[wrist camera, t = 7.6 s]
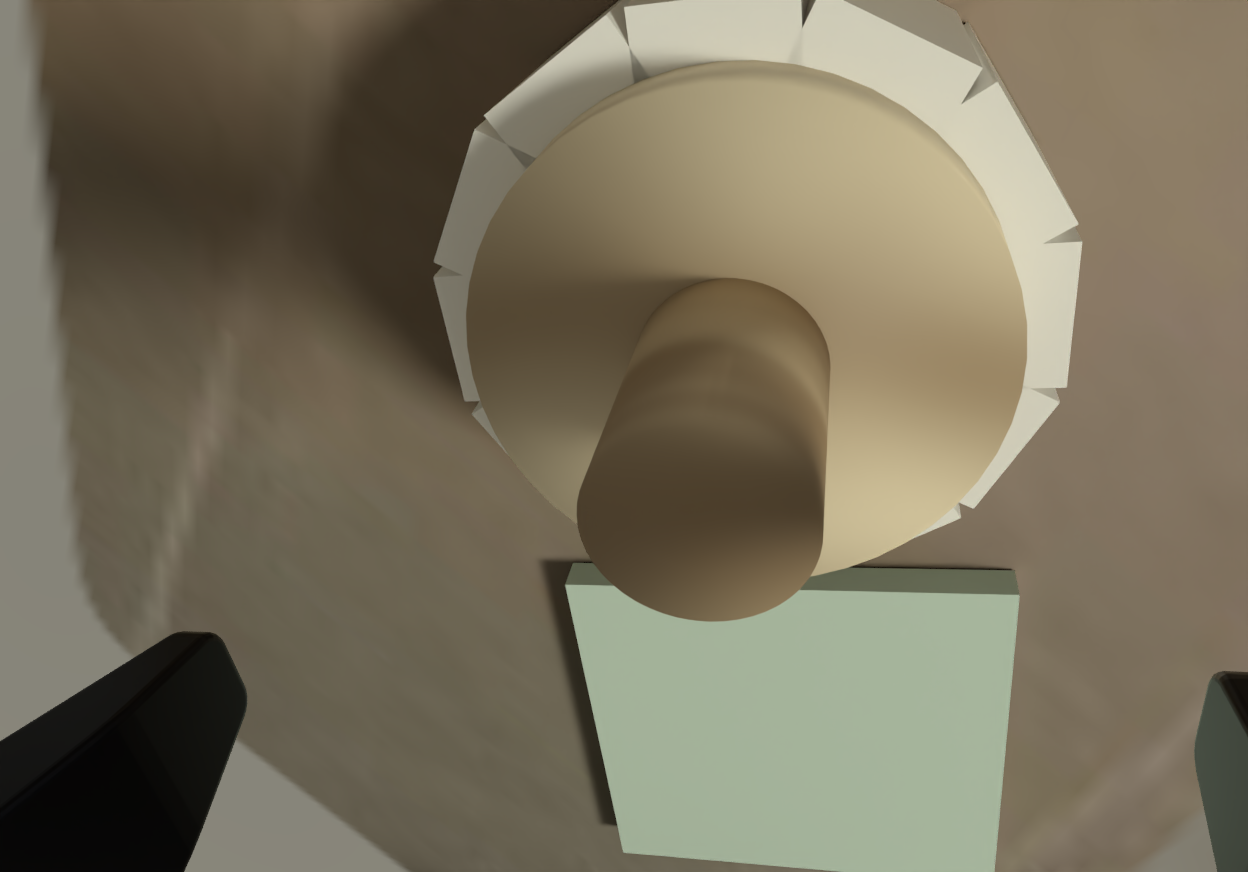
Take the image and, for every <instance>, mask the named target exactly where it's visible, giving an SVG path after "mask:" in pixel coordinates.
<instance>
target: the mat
mask: <svg viewBox="0 0 1248 872" xmlns="http://www.w3.org/2000/svg"><path fill="white" fill-rule="evenodd" d="M565 587H566V591H567V596H568V600H569V605H570V610H571V614H572V619H573V623H574V628H575V633H576V637H577V642H578V646H579V651H580V656H581V660H582V665H583V669H584V674H585V678H586V683H587V688H588V692H589V697H590V701H591V706H592V711H593V715H594V720H595V724H596V729H597V734H598V738H599V743H600V747H601V752H602V757H603V761H604V766H605V770H606V775H607V779H608V784H609V789H610V793H611V798H612V802H613V807H614V812H615V816H616V821H617V825H618V830H619V835H620V839H621V844H622V848H623V853H634V854H646V855H657V856H669V857H680V858H692V859H703V860H714V861H726V862H737V863H749V864H760V865H771V866H783V867H794V868H806V869H817V870H829V871H840V872H994V870H995V859H996V848H997V837H998V826H999V815H1000V804H1001V793H1002V782H1003V771H1004V760H1005V749H1006V738H1007V727H1008V717H1009V706H1010V695H1011V684H1012V673H1013V662H1014V651H1015V640H1016V629H1017V618H1018V607H1019V596H1020V595H1019V590H1018V585H1017V580H1016V575H1015V570H958V569H900V568H845V569H841V570H837V571H833V572H829V573H824V574H820V575H816V576H810V578H809V579H808V580H807V581H806V583H805V584H804V585H803V586H802V587H801V589H800V590H798V591H797V592H796V593H795V594H794V595H793V596H792V597H791V598H789V599H788V600H786V601H785V602H783V603H782V604H780V605H778V606H776V607H774V608H772V609H770V610H768V611H766V612H764V613H761V614H758V615H755V616H752V617H748V618H743V619H739V620H731V621H718V622H706V621H694V620H688V619H682V618H677V617H674V616H670V615H667V614H663V613H661V612H658V611H655V610H653V609H650V608H648V607H646V606H644V605H642V604H640V603H638V602H636V601H635V600H633V599H632V598H630V597H628V596H627V595H625V594H624V593H622V592H621V591H620V590H619V589H617V588H616V587H615V586H614V585H612V584H611V583H610V582H609V581H608V580H607V579H606V578H605V577H604V576H603V575H602V573H601V572H600V571H599V570H598V568H597V567H596V566H595V565H594V563H573V564H572V567H571V570H570V572H569V575H568V578H567V581H566V583H565Z"/></svg>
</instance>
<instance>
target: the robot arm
mask: <svg viewBox="0 0 1248 872" xmlns="http://www.w3.org/2000/svg"><path fill="white" fill-rule="evenodd" d="M246 707H247V692H246V688H245V685H244V683H243V681H242V679H241V677H240V675H239V673H238V671H237V669H236V666H235V664H234V662H233V660H232V658H231V656H230V654H229V652H228V650H227V648H226V645H225V643H224V642H223V640H222V639H221V638H220V637H219V636H218V635H216V634H214V633H211V632H188V631H183V632H177V633H174V634H172V635H170V636H168V637H167V638H165V639H163V640H162V641H160V642H159V643H157V644H155V645H154V646H152V647H151V648H149V649H147V650H146V651H144V652H143V653H141V654H139V655H138V656H136V657H134V658H133V659H131V660H130V661H128V662H126V663H125V664H123V665H122V666H120V667H119V668H117V669H115V670H114V671H112V672H110V673H109V674H107V675H106V676H104V677H103V678H101V679H99V680H98V681H96V682H94V683H93V684H91V685H90V686H88V687H86V688H85V689H83V690H82V691H80V692H78V693H77V694H75V695H74V696H72V697H70V698H69V699H68V700H66V701H64V702H62V703H61V704H59V705H58V706H56V707H54V708H53V709H51V710H50V711H48V712H47V713H45V714H43V715H42V716H40V717H38V718H37V719H35V720H33V721H32V722H30V723H29V724H27V725H26V726H24V727H22V728H21V729H19V730H17V731H16V732H14V733H13V734H11V735H10V736H8V737H6V738H5V739H3V740H1V741H0V872H184V871H185V868H186V866H187V864H188V862H189V860H190V858H191V855H192V853H193V850H194V848H195V845H196V843H197V841H198V838H199V836H200V833H201V831H202V828H203V825H204V822H205V820H206V817H207V815H208V812H209V809H210V807H211V804H212V801H213V799H214V796H215V793H216V791H217V788H218V785H219V783H220V780H221V777H222V774H223V772H224V769H225V767H226V764H227V761H228V759H229V756H230V753H231V751H232V748H233V745H234V743H235V740H236V737H237V735H238V732H239V729H240V727H241V724H242V721H243V719H244V716H245V712H246ZM1194 753H1195V766H1196V772H1197V777H1198V782H1199V787H1200V791H1201V796H1202V801H1203V806H1204V810H1205V815H1206V820H1207V825H1208V829H1209V834H1210V839H1211V843H1212V848H1213V853H1214V857H1215V862H1216V866H1217V872H1248V672H1231V671H1222V672H1218V673H1216V674H1214V675H1213V677H1212V678H1211V680H1210V682H1209V685H1208V688H1207V692H1206V697H1205V701H1204V705H1203V709H1202V714H1201V718H1200V722H1199V726H1198V730H1197V735H1196V739H1195V749H1194Z"/></svg>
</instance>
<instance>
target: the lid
mask: <svg viewBox="0 0 1248 872" xmlns="http://www.w3.org/2000/svg"><path fill="white" fill-rule="evenodd" d="M466 329H467V348H468V354H469V359H470V365H471V370H472V376H473V379H474V382H475V386H476V389H477V392H478V395H479V398H480V401H481V404H482V407H483V409H484V411H485V413H486V415H487V418H488V420H489V422H490V424H491V426H492V428H493V430H494V433H495V434H496V436H497V437H498V439H499V441H500V442H501V444H502V445H503V447H504V449H505V450H506V452H507V453H508V455H509V457H510V458H511V460H512V461H513V462H514V463H515V465H516V466H517V467H518V468H519V470H520V471H521V472H522V473H523V475H524V476H525V477H526V478H527V480H528V481H529V482H530V483H531V484H532V485H533V486H534V487H535V488H536V489H537V490H538V491H539V492H540V493H541V494H542V495H543V496H544V497H545V498H546V499H547V500H548V501H549V502H550V503H551V504H552V505H553V506H554V507H556V508H557V509H558V510H559V511H561V512H562V513H563V514H564V515H566V516H567V517H568V518H569V519H571V520H572V521H573V522H574V523H576V524H577V525H578V529H579V533H580V537H581V540H582V542H583V545H584V547H585V549H586V552H587V553H588V555H589V557H590V558H591V560H592V562H593V563H594V565H595V566H596V567H597V568H598V570H599V571H600V572H601V573H602V575H603V576H604V577H605V578H606V579H607V580H608V581H609V582H610V583H611V584H612V585H614V586H615V587H616V588H617V589H619V590H620V591H621V592H622V593H624V594H625V595H627V596H628V597H630V598H632V599H633V600H635V601H636V602H638V603H640V604H642V605H644V606H646V607H648V608H650V609H653V610H655V611H658V612H661V613H663V614H667V615H670V616H674V617H677V618H682V619H688V620H694V621H706V622H718V621H731V620H739V619H743V618H748V617H752V616H755V615H758V614H761V613H764V612H766V611H768V610H770V609H772V608H774V607H776V606H778V605H780V604H782V603H783V602H785V601H786V600H788V599H789V598H791V597H792V596H793V595H794V594H795V593H796V592H797V591H798V590H800V589H801V587H802V586H803V585H804V584H805V583H806V581H807V580H808V579H809V578H810V576H816V575H820V574H824V573H829V572H833V571H837V570H841V569H845V568H848V567H851V566H854V565H856V564H859V563H862V562H865V561H868V560H870V559H873V558H876V557H878V556H880V555H882V554H884V553H886V552H888V551H890V550H892V549H894V548H896V547H898V546H900V545H902V544H904V543H906V542H907V541H909V540H910V539H912V538H914V537H915V536H917V535H918V534H920V533H921V532H923V531H924V530H926V529H927V528H929V527H930V526H932V525H933V524H934V523H935V522H937V521H938V520H939V519H940V518H941V517H943V516H944V515H945V514H946V513H947V512H948V511H950V510H951V509H952V508H953V507H954V506H956V505H957V504H958V503H959V501H960V500H961V499H962V498H963V497H964V496H965V495H966V494H967V493H968V492H969V490H970V489H971V488H972V487H973V486H974V485H975V484H976V483H977V482H978V481H979V479H980V478H981V476H982V475H983V473H984V472H985V470H986V469H987V467H988V466H989V465H990V463H991V462H992V460H993V459H994V457H995V456H996V454H997V453H998V451H999V449H1000V447H1001V444H1002V442H1003V440H1004V438H1005V436H1006V434H1007V432H1008V430H1009V428H1010V426H1011V424H1012V421H1013V418H1014V415H1015V412H1016V409H1017V406H1018V403H1019V399H1020V396H1021V393H1022V388H1023V381H1024V375H1025V369H1026V363H1027V320H1026V313H1025V307H1024V301H1023V294H1022V288H1021V285H1020V282H1019V279H1018V276H1017V273H1016V270H1015V267H1014V264H1013V261H1012V257H1011V254H1010V251H1009V248H1008V245H1007V242H1006V239H1005V236H1004V233H1003V230H1002V228H1001V225H1000V222H999V219H998V217H997V215H996V213H995V211H994V209H993V207H992V205H991V203H990V201H989V199H988V197H987V195H986V193H985V191H984V189H983V188H982V186H981V185H980V183H979V182H978V181H977V179H976V178H975V176H974V175H973V174H972V172H971V171H970V169H969V168H968V167H967V165H966V164H965V162H964V161H963V159H962V158H961V157H960V156H959V155H958V154H957V153H956V152H955V151H954V150H953V149H952V148H951V147H950V146H949V145H948V144H947V143H946V142H945V140H944V139H943V138H942V137H941V136H940V135H939V134H938V133H937V132H936V131H935V130H933V129H932V128H931V127H930V126H928V125H927V124H926V123H924V122H923V121H922V120H920V119H919V118H918V117H917V116H915V115H914V114H913V113H911V112H910V111H909V110H908V109H906V108H905V107H903V106H901V105H900V104H898V103H896V102H894V101H893V100H891V99H889V98H887V97H886V96H884V95H882V94H880V93H879V92H877V91H875V90H873V89H871V88H869V87H867V86H864V85H862V84H859V83H857V82H854V81H852V80H849V79H846V78H844V77H841V76H839V75H836V74H834V73H830V72H825V71H821V70H817V69H813V68H809V67H805V66H801V65H797V64H789V63H779V62H769V61H759V60H745V61H717V62H711V63H705V64H699V65H693V66H688V67H682V68H677V69H674V70H671V71H668V72H664V73H661V74H658V75H655V76H652V77H649V78H646V79H643V80H640V81H638V82H636V83H634V84H632V85H630V86H628V87H626V88H624V89H622V90H619V91H617V92H615V93H613V94H611V95H609V96H607V97H606V98H604V99H603V100H602V101H600V102H599V103H597V104H596V105H594V106H593V107H591V108H590V109H588V110H587V111H585V112H584V113H582V114H581V115H579V116H578V117H577V118H576V119H575V120H573V121H572V122H571V123H570V124H569V125H568V126H567V127H566V128H565V129H563V130H562V131H561V132H560V133H559V134H558V135H557V136H556V137H555V138H553V139H552V141H551V142H550V143H549V144H548V145H547V146H546V148H545V149H544V150H543V151H542V152H541V153H540V154H539V156H538V157H537V158H536V159H535V160H534V161H533V163H532V164H531V165H530V166H529V167H528V168H527V170H526V171H525V172H524V173H523V174H522V176H521V177H520V178H519V179H518V180H517V182H516V183H515V184H514V185H513V186H512V188H511V189H510V190H509V191H508V193H507V194H506V196H505V198H504V199H503V201H502V202H501V204H500V206H499V207H498V209H497V211H496V212H495V214H494V216H493V217H492V219H491V221H490V223H489V225H488V227H487V230H486V232H485V235H484V237H483V239H482V242H481V244H480V246H479V249H478V251H477V255H476V259H475V263H474V266H473V270H472V274H471V278H470V282H469V290H468V300H467V309H466Z"/></svg>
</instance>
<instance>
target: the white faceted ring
mask: <svg viewBox="0 0 1248 872" xmlns="http://www.w3.org/2000/svg"><path fill="white" fill-rule="evenodd" d="M745 60H759V61H769V62H779V63H789V64H797V65H801V66H805V67H809V68H813V69H817V70H821V71H825V72H830V73H834V74H836V75H839V76H841V77H844V78H846V79H849V80H852V81H854V82H857V83H859V84H862V85H864V86H867V87H869V88H871V89H873V90H875V91H877V92H879V93H880V94H882V95H884V96H886V97H887V98H889V99H891V100H893V101H894V102H896V103H898V104H900V105H901V106H903V107H905V108H906V109H908V110H909V111H910V112H911V113H913V114H914V115H915V116H917V117H918V118H919V119H920V120H922V121H923V122H924V123H926V124H927V125H928V126H930V127H931V128H932V129H933V130H935V131H936V132H937V133H938V134H939V135H940V136H941V137H942V138H943V139H944V140H945V142H946V143H947V144H948V145H949V146H950V147H951V148H952V149H953V150H954V151H955V152H956V153H957V154H958V155H959V156H960V157H961V158H962V159H963V161H964V162H965V164H966V165H967V167H968V168H969V169H970V171H971V172H972V174H973V175H974V176H975V178H976V179H977V181H978V182H979V183H980V185H981V186H982V188H983V189H984V191H985V193H986V195H987V197H988V199H989V201H990V203H991V205H992V207H993V209H994V211H995V213H996V215H997V217H998V219H999V222H1000V225H1001V228H1002V230H1003V233H1004V236H1005V239H1006V242H1007V245H1008V248H1009V251H1010V254H1011V257H1012V261H1013V264H1014V267H1015V270H1016V273H1017V276H1018V279H1019V282H1020V285H1021V288H1022V294H1023V301H1024V307H1025V313H1026V320H1027V363H1026V369H1025V375H1024V381H1023V388H1022V393H1021V396H1020V399H1019V403H1018V406H1017V409H1016V412H1015V415H1014V418H1013V421H1012V424H1011V426H1010V428H1009V430H1008V432H1007V434H1006V436H1005V438H1004V440H1003V442H1002V444H1001V447H1000V449H999V451H998V453H997V454H996V456H995V457H994V459H993V460H992V462H991V463H990V465H989V466H988V467H987V469H986V470H985V472H984V473H983V475H982V476H981V478H980V479H979V481H978V482H977V483H976V484H975V485H974V486H973V487H972V488H971V489H970V490H969V492H968V493H967V494H966V495H965V496H964V497H963V498H962V499H961V500H960V501H959V502H960V503H962V504H964V505H966V506H968V507H971V508H973V509H974V508H975V506H976V505H977V504H978V503H979V501H980V500H981V499H982V498H983V497H984V495H985V494H986V493H987V492H988V490H989V489H990V488H991V487H992V485H993V484H994V483H995V482H996V481H997V479H998V478H999V477H1000V476H1001V474H1002V473H1003V472H1004V471H1005V469H1006V468H1007V467H1008V466H1009V465H1010V463H1011V462H1012V461H1013V460H1014V458H1015V457H1016V456H1017V455H1018V453H1019V452H1020V451H1021V450H1022V449H1023V447H1024V446H1025V445H1026V444H1027V442H1028V441H1029V440H1030V439H1031V437H1032V436H1033V435H1034V434H1035V433H1036V431H1037V430H1038V429H1039V428H1040V426H1041V425H1042V424H1043V423H1044V421H1045V420H1046V419H1047V418H1048V417H1049V415H1050V414H1051V413H1052V412H1053V410H1054V409H1055V408H1056V407H1057V406H1058V404H1059V403H1060V401H1059V398H1058V395H1057V392H1056V389H1055V388H1067V379H1068V369H1069V360H1070V351H1071V342H1072V332H1073V323H1074V314H1075V304H1076V295H1077V286H1078V277H1079V267H1080V258H1081V249H1082V240H1081V238H1080V236H1079V234H1078V232H1077V230H1076V228H1075V226H1076V225H1078V222H1077V220H1076V218H1075V216H1074V214H1073V212H1072V210H1071V208H1070V206H1069V204H1068V202H1067V200H1066V198H1065V196H1064V195H1063V193H1062V191H1061V189H1060V187H1059V185H1058V183H1057V181H1056V179H1055V177H1054V175H1053V173H1052V171H1051V169H1050V167H1049V166H1048V164H1047V162H1046V160H1045V158H1044V156H1043V154H1042V152H1041V150H1040V148H1039V146H1038V144H1037V142H1036V140H1035V138H1034V137H1033V135H1032V133H1031V131H1030V130H1029V128H1028V126H1027V124H1026V123H1025V121H1024V119H1023V117H1022V116H1021V114H1020V112H1019V110H1018V109H1017V107H1016V105H1015V103H1014V101H1013V100H1012V98H1011V96H1010V94H1009V93H1008V91H1007V89H1006V87H1005V86H1004V84H1003V82H1002V80H1001V79H1000V77H999V75H998V73H997V71H996V70H995V68H994V66H993V64H992V63H991V61H990V59H989V57H988V56H987V54H986V52H985V50H984V49H983V47H982V45H981V43H980V42H979V40H978V38H977V36H976V34H975V33H974V31H973V29H972V27H971V26H970V24H969V22H967V23H966V24H964V25H963V24H962V21H961V19H960V17H959V15H958V13H957V11H956V10H954V9H952V8H950V7H948V6H946V5H944V4H942V3H940V2H938V1H935V0H619V1H618V2H616V3H615V4H614V5H613V6H611V7H610V8H609V9H608V10H607V11H605V12H604V13H603V14H602V15H601V16H599V17H598V18H597V19H596V20H594V21H593V22H592V23H591V24H590V25H588V26H587V27H586V28H585V29H584V30H582V31H581V32H580V33H579V34H578V35H576V36H575V37H574V38H573V39H571V40H570V41H569V42H568V43H567V44H565V45H564V46H563V47H562V48H561V49H559V50H558V51H557V52H556V53H555V54H553V55H552V56H551V57H550V58H549V59H548V60H546V61H545V62H544V63H543V64H542V65H541V66H540V67H538V68H537V69H536V70H535V71H534V72H533V73H532V74H530V75H529V76H528V77H527V78H526V79H525V80H524V81H522V82H521V83H520V84H519V85H518V86H517V87H516V88H514V89H513V90H512V91H511V92H510V93H509V94H508V95H506V96H505V97H504V98H503V99H502V100H501V101H500V102H498V103H497V104H496V105H495V106H494V107H493V108H492V109H490V110H489V111H488V112H487V113H486V114H485V115H484V116H485V118H486V120H484V121H483V122H482V123H481V124H480V125H479V126H478V127H477V128H475V129H474V132H473V136H472V139H471V142H470V145H469V149H468V152H467V155H466V158H465V161H464V165H463V168H462V171H461V174H460V178H459V181H458V184H457V187H456V191H455V194H454V197H453V200H452V203H451V207H450V210H449V213H448V216H447V220H446V223H445V226H444V229H443V233H442V236H441V239H440V242H439V245H438V249H437V252H436V255H435V258H434V263H436V264H439V265H441V266H442V268H441V269H440V270H439V271H438V272H437V273H436V274H435V276H434V277H433V279H434V283H435V286H436V290H437V294H438V298H439V302H440V306H441V310H442V314H443V318H444V322H445V326H446V330H447V334H448V338H449V341H450V345H451V349H452V353H453V357H454V361H455V365H456V369H457V373H458V377H459V381H460V385H461V389H462V393H463V397H464V400H465V401H479V403H478V404H477V406H476V408H475V409H474V411H473V413H472V415H473V416H474V417H475V418H476V419H477V421H478V422H479V423H480V424H481V425H482V426H483V427H484V428H485V429H486V431H487V432H488V433H489V434H490V435H491V436H492V437H493V438H494V440H495V441H496V442H497V443H498V444H499V445H500V446H501V447H502V449H503V450H504V451H505V452H506V450H505V449H504V447H503V445H502V444H501V442H500V441H499V439H498V437H497V436H496V434H495V433H494V430H493V428H492V426H491V424H490V422H489V420H488V418H487V415H486V413H485V411H484V409H483V407H482V404H481V401H480V398H479V395H478V392H477V389H476V386H475V382H474V379H473V376H472V370H471V365H470V359H469V354H468V348H467V329H466V309H467V300H468V290H469V282H470V278H471V274H472V270H473V266H474V263H475V259H476V255H477V251H478V249H479V246H480V244H481V242H482V239H483V237H484V235H485V232H486V230H487V227H488V225H489V223H490V221H491V219H492V217H493V216H494V214H495V212H496V211H497V209H498V207H499V206H500V204H501V202H502V201H503V199H504V198H505V196H506V194H507V193H508V191H509V190H510V189H511V188H512V186H513V185H514V184H515V183H516V182H517V180H518V179H519V178H520V177H521V176H522V174H523V173H524V172H525V171H526V170H527V168H528V167H529V166H530V165H531V164H532V163H533V161H534V160H535V159H536V158H537V157H538V156H539V154H540V153H541V152H542V151H543V150H544V149H545V148H546V146H547V145H548V144H549V143H550V142H551V141H552V139H553V138H555V137H556V136H557V135H558V134H559V133H560V132H561V131H562V130H563V129H565V128H566V127H567V126H568V125H569V124H570V123H571V122H572V121H573V120H575V119H576V118H577V117H578V116H579V115H581V114H582V113H584V112H585V111H587V110H588V109H590V108H591V107H593V106H594V105H596V104H597V103H599V102H600V101H602V100H603V99H604V98H606V97H607V96H609V95H611V94H613V93H615V92H617V91H619V90H622V89H624V88H626V87H628V86H630V85H632V84H634V83H636V82H638V81H640V80H643V79H646V78H649V77H652V76H655V75H658V74H661V73H664V72H668V71H671V70H674V69H677V68H682V67H688V66H693V65H699V64H705V63H711V62H717V61H745ZM506 453H507V452H506ZM507 454H508V453H507ZM960 518H961V514H960V507H959V503H958V504H957V505H956V506H954V507H953V508H952V509H951V510H950V511H948V512H947V513H946V514H945V515H944V516H943V517H941V518H940V519H939V520H938V521H937V522H935V523H934V524H933V525H932V526H930V527H929V528H927V529H926V530H924V531H923V532H921V533H920V534H918V535H917V536H920V535H922V534H924V533H927V532H929V531H931V530H934V529H936V528H938V527H941V526H943V525H946V524H948V523H950V522H953V521H955V520H957V519H960ZM917 536H915V537H917ZM915 537H914V538H915ZM912 539H913V538H912Z"/></svg>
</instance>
